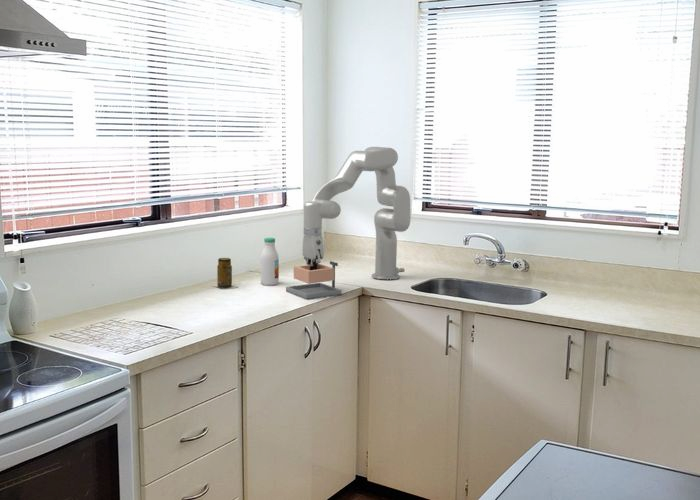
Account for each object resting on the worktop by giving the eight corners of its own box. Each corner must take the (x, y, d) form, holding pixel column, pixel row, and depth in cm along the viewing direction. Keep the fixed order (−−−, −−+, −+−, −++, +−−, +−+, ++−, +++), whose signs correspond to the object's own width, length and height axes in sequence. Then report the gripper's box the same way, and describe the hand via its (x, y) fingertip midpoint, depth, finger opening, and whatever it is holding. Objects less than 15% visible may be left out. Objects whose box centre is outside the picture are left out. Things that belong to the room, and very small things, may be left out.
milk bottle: (270, 286, 325) (270, 240, 322) (257, 283, 329) (256, 238, 326) (282, 283, 331) (282, 238, 328) (269, 281, 336) (269, 236, 332)
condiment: (227, 284, 328) (227, 256, 326) (238, 287, 322) (237, 259, 320) (212, 286, 324) (212, 258, 322) (222, 289, 317) (222, 261, 315)
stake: (331, 286, 326) (331, 261, 324) (337, 289, 322) (338, 263, 320) (329, 287, 325) (329, 261, 324) (335, 289, 321) (335, 263, 319)
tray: (320, 287, 325) (320, 282, 325) (341, 294, 311) (341, 290, 311) (285, 291, 316) (285, 286, 315) (306, 299, 302) (306, 294, 302)
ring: (318, 275, 321) (318, 263, 320) (333, 280, 311) (334, 268, 310) (293, 278, 314) (293, 266, 313) (308, 283, 304) (308, 271, 304)
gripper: (330, 233, 311) (329, 277, 314) (310, 228, 324) (310, 271, 327) (314, 234, 307) (313, 279, 310) (295, 229, 319) (294, 272, 322)
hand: (311, 274), depth 318 cm, fingers closed on ring, 1 cm apart
